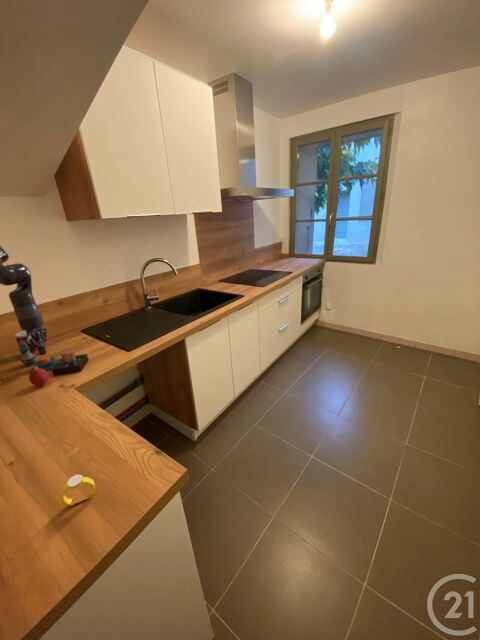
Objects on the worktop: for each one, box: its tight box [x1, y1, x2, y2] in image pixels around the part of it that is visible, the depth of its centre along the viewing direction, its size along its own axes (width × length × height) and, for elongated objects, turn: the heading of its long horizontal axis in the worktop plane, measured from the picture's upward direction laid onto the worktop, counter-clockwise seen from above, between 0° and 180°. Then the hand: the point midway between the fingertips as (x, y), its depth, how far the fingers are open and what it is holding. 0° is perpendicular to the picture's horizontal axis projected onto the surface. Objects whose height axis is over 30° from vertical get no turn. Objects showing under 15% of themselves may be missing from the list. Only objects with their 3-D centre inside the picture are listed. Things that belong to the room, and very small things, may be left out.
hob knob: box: [60, 348, 76, 364], centre depth 108 cm, size 4×4×5 cm
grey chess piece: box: [17, 340, 39, 368], centre depth 112 cm, size 6×6×12 cm
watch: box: [60, 474, 96, 506], centre depth 55 cm, size 6×3×6 cm, turn 117°
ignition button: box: [38, 355, 51, 363], centre depth 110 cm, size 4×4×2 cm
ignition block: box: [28, 356, 61, 375], centre depth 111 cm, size 10×8×3 cm
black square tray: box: [51, 353, 89, 377], centre depth 109 cm, size 10×10×3 cm
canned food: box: [14, 330, 40, 357], centre depth 122 cm, size 8×8×11 cm
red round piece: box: [28, 367, 50, 387], centre depth 97 cm, size 6×6×8 cm
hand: (43, 354), depth 109 cm, fingers closed
